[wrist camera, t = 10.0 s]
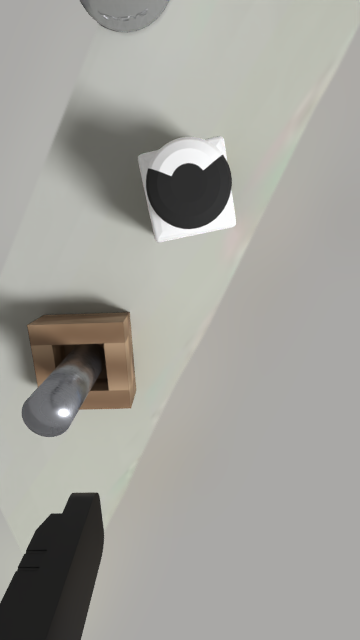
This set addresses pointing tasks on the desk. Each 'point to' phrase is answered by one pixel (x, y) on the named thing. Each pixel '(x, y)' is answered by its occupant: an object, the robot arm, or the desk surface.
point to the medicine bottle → (188, 187)
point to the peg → (63, 391)
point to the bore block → (97, 328)
